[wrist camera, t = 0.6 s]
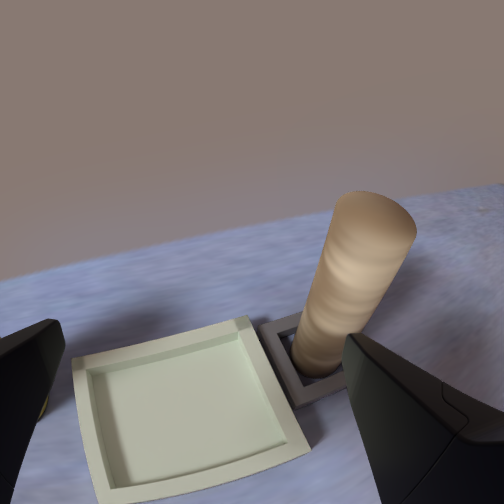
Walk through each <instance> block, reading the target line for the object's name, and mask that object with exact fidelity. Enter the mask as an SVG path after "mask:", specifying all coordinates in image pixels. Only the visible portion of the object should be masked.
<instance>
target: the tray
mask: <svg viewBox="0 0 504 504" xmlns="http://www.w3.org/2000/svg"><path fill="white" fill-rule="evenodd" d="M71 363H72V373H73V382H74V391H75V398H76V405H77V412H78V418H79V424H80V429H81V434H82V439H83V444H84V449H85V454H86V458H87V462H88V467H89V471H90V475H91V478H92V482H93V486H94V489H95V493H96V496H97V500H98V503H99V504H136V503H142V502H148V501H154V500H160V499H165V498H170V497H175V496H179V495H184V494H188V493H192V492H196V491H200V490H204V489H208V488H212V487H215V486H219V485H222V484H226V483H229V482H232V481H236V480H239V479H242V478H245V477H248V476H251V475H254V474H257V473H260V472H262V471H265V470H268V469H271V468H273V467H276V466H279V465H281V464H284V463H286V462H289V461H291V460H294V459H296V458H298V457H301V456H303V455H305V454H307V453H309V452H310V451H312V450H311V448H310V446H309V444H308V442H307V440H306V438H305V436H304V434H303V432H302V430H301V428H300V426H299V424H298V422H297V420H296V418H295V416H294V414H293V412H292V410H291V407H290V405H289V403H288V401H287V399H286V397H285V395H284V393H283V391H282V389H281V387H280V384H279V382H278V380H277V378H276V376H275V374H274V372H273V370H272V367H271V365H270V363H269V361H268V359H267V357H266V355H265V352H264V350H263V348H262V346H261V344H260V342H259V339H258V337H257V335H256V333H255V331H254V329H253V326H252V324H251V322H250V320H249V318H248V315H245V316H242V317H239V318H235V319H231V320H228V321H224V322H221V323H217V324H214V325H210V326H206V327H203V328H199V329H195V330H191V331H187V332H184V333H180V334H176V335H172V336H168V337H164V338H160V339H156V340H152V341H148V342H144V343H139V344H135V345H131V346H127V347H122V348H118V349H114V350H109V351H105V352H100V353H95V354H91V355H86V356H81V357H76V358H71Z"/></svg>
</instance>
